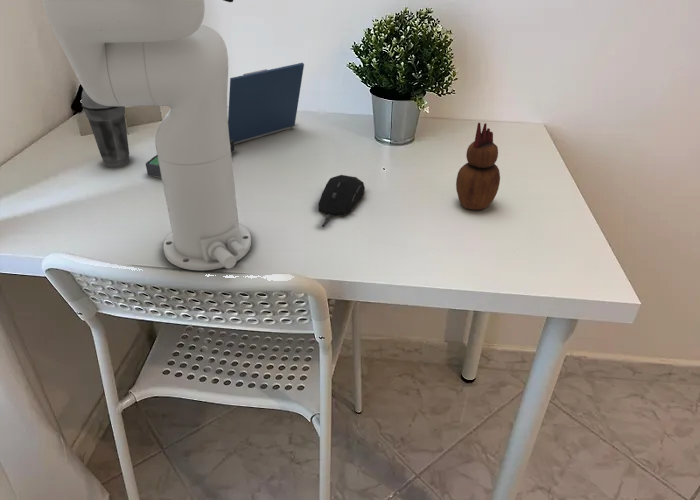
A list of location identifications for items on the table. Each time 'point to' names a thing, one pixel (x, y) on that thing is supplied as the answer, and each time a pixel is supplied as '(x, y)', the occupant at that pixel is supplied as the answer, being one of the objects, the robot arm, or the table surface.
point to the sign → (263, 102)
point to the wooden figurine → (479, 172)
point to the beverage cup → (108, 131)
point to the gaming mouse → (340, 196)
